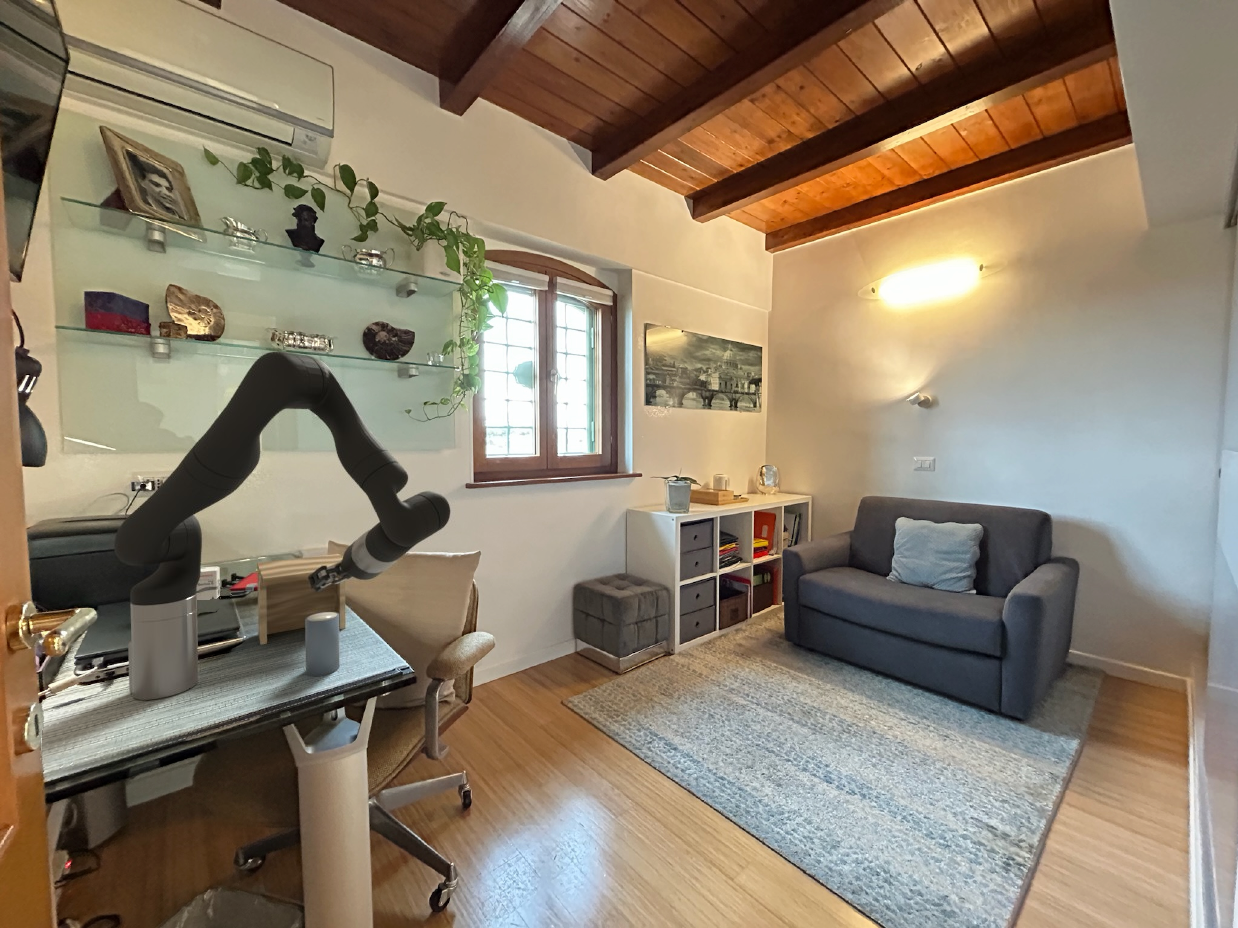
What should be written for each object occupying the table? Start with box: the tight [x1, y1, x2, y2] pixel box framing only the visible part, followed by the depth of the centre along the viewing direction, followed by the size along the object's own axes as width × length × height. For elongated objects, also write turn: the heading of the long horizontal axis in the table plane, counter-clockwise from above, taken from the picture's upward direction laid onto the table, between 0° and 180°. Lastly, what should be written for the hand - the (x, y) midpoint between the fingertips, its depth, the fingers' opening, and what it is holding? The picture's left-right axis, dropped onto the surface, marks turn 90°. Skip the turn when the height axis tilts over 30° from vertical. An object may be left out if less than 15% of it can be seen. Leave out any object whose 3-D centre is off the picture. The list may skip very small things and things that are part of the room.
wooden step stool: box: [256, 553, 346, 645], centre depth 121 cm, size 18×18×18 cm
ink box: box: [196, 566, 221, 600], centre depth 139 cm, size 9×5×12 cm, turn 120°
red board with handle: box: [220, 572, 258, 597], centre depth 166 cm, size 30×3×15 cm
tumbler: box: [304, 612, 341, 677], centre depth 104 cm, size 6×6×11 cm
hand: (338, 580), depth 101 cm, fingers open, 8 cm apart
